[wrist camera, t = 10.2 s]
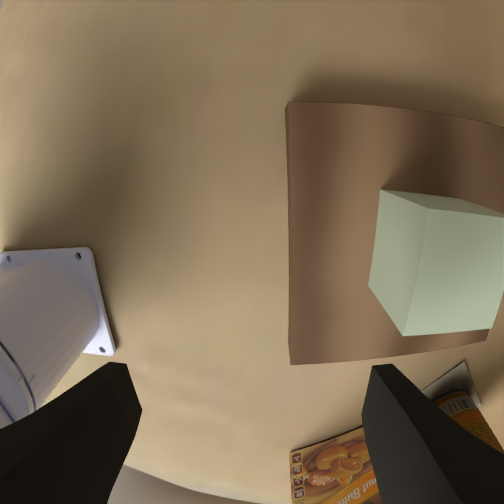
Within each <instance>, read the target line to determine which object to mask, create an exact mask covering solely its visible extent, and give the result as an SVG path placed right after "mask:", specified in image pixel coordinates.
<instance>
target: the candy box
mask: <svg viewBox="0 0 504 504" xmlns="http://www.w3.org/2000/svg"><path fill="white" fill-rule="evenodd" d="M289 461H290V477H291V496H292V504H382V501H381V497H380V493H379V489H378V486H377V482H376V478H375V475H374V471H373V467H372V464H371V460H370V456H369V453H368V449H367V445H366V441H365V435H364V428H363V427H362V428H359V429H357V430H354V431H352V432H349V433H346V434H344V435H341V436H339V437H336V438H333V439H330V440H328V441H325V442H322V443H319V444H316V445H313V446H310V447H307V448H303V449H298V450H295V451H291V452H290V454H289Z"/></svg>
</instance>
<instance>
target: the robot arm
mask: <svg viewBox="0 0 504 504" xmlns="http://www.w3.org/2000/svg"><path fill="white" fill-rule="evenodd" d="M78 253H79V254H80V255H81V258H79V256H78ZM10 258H11V259H10ZM102 347H103V348H104V349H105V350H104V349H103V348H102ZM115 352H116V347H115V343H114V340H113V336H112V333H111V329H110V326H109V322H108V318H107V314H106V311H105V307H104V303H103V298H102V294H101V290H100V286H99V281H98V276H97V272H96V267H95V262H94V257H93V253H92V251H91V249H89V248H88V247H75V248H57V249H39V250H22V251H5V252H1V253H0V504H107V502H108V499H109V496H110V493H111V491H112V488H113V486H114V483H115V481H116V479H117V477H118V474H119V472H120V470H121V467H122V465H123V463H124V461H125V458H126V456H127V454H128V452H129V449H130V447H131V445H132V442H133V440H134V438H135V435H136V431H137V428H138V425H139V421H140V417H141V413H142V408H141V405H140V403H139V400H138V397H137V394H136V391H135V389H134V386H133V383H132V380H131V377H130V374H129V371H128V368H127V364H124V363H116V362H108V363H107V364H105V365H103V366H102V367H100V368H99V369H97V370H96V371H94V372H93V373H91V374H90V375H89V376H87V377H86V378H84V379H83V380H81V381H80V382H79V383H77V384H76V385H74V386H73V387H71V388H70V389H69V390H67V391H66V392H64V393H63V394H61V395H60V396H58V397H57V398H55V399H54V400H52V401H50V402H49V403H47V404H46V405H44V406H42V404H43V403H44V402H45V400H46V399H47V397H48V396H49V395H50V393H51V392H52V391H53V389H54V388H55V387H56V385H57V384H58V383H59V382H60V380H61V379H62V378H63V376H64V375H65V374H66V372H67V371H68V370H69V369H70V367H71V366H72V365H73V363H74V362H75V361H76V360H77V358H78V357H79V356H80V355H81V353H89V354H98V355H107V356H113V355H114V354H115ZM41 406H42V407H41ZM40 407H41V408H40ZM362 421H363V428H364V435H365V441H366V445H367V449H368V453H369V456H370V460H371V464H372V467H373V471H374V475H375V478H376V482H377V486H378V489H379V493H380V497H381V501H382V504H504V454H503V453H501V452H500V451H498V450H496V449H494V448H493V447H491V446H490V445H488V444H486V443H485V442H483V441H482V440H480V439H479V438H477V437H476V436H474V435H473V434H471V433H470V432H469V431H467V430H466V429H465V428H463V427H462V426H461V425H459V424H458V423H457V422H456V421H454V420H453V419H452V418H451V417H449V416H448V415H447V414H446V413H445V412H443V411H442V410H441V409H440V408H439V407H438V406H437V405H435V404H434V403H433V402H432V401H431V400H430V399H429V398H428V397H427V396H426V395H424V394H423V393H422V392H421V391H420V390H419V389H418V388H417V387H416V386H415V385H414V384H413V383H412V382H411V381H410V380H409V379H408V378H407V377H406V376H405V375H404V374H403V373H401V372H400V371H399V370H398V369H397V368H396V367H395V366H394V365H393V364H383V365H374V366H372V369H371V374H370V379H369V384H368V388H367V393H366V397H365V401H364V405H363V410H362Z"/></svg>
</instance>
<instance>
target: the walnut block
mask: <svg viewBox="0 0 504 504" xmlns="http://www.w3.org/2000/svg"><path fill="white" fill-rule="evenodd" d="M285 119H286V145H287V177H288V227H289V327H288V345H289V354H290V364H291V365H302V364H319V363H334V362H346V361H357V360H367V359H376V358H385V357H393V356H400V355H408V354H415V353H421V352H428V351H434V350H440V349H445V348H451V347H456V346H461V345H466V344H471V343H476V342H481V341H485V340H486V338H487V335H488V332H489V329H490V328H489V329H480V330H472V331H462V332H452V333H441V334H428V335H414V336H402V334H401V333H400V331H399V330H398V328H397V327H396V325H395V324H394V322H393V321H392V319H391V318H390V316H389V315H388V313H387V312H386V310H385V309H384V308H383V306H382V305H381V303H380V302H379V300H378V299H377V297H376V296H375V294H374V293H373V292H372V290H371V289H370V287H369V286H368V283H369V277H370V270H371V264H372V257H373V250H374V242H375V234H376V226H377V217H378V207H379V196H380V190H391V191H400V192H410V193H419V194H427V195H435V196H443V197H450V198H458V199H462V200H465V201H468V202H471V203H474V204H477V205H480V206H483V207H486V208H488V209H491V210H494V211H497V212H499V213H502V214H504V127H501V126H497V125H493V124H489V123H484V122H480V121H475V120H471V119H466V118H461V117H455V116H450V115H444V114H438V113H432V112H425V111H418V110H411V109H403V108H394V107H385V106H374V105H361V104H346V103H322V102H288V104H287V106H286V108H285Z"/></svg>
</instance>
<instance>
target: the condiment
mask: <svg viewBox="0 0 504 504" xmlns="http://www.w3.org/2000/svg"><path fill="white" fill-rule="evenodd" d="M459 386H460V387H459ZM458 387H459V388H458ZM421 392H422V393H423V394H424V395H426V396H427V397H428V398H429V399H430V400H431V401H432V402H433V403H434V404H435V405H437V406H438V407H439V408H440V409H441V410H442V411H443V412H445V413H446V414H447V415H448V416H449V417H451V418H452V419H453V420H454V421H456V422H457V423H458V424H459V425H461V426H462V427H463V428H465V429H466V430H467V431H469V432H470V433H471V434H473V435H474V436H476V437H477V438H479V439H480V440H482V441H483V442H485V443H486V444H488V445H490V446H491V447H493V448H494V449H496V450H498V451H500V452H501V453H503V454H504V450H503V448H502V446H501V445H500V443H499V442H498V440H497V438H496V436H495V435H494V434H493V432H492V430H491V428H490V427H489V425H488V424H487V422H486V420H485V419H484V417H483V416H482V414H481V412H480V411H479V409H478V408H479V407H480V406H481V403H480V400H479V398H478V395H477V393H476V390H475V387H474V385H473V382H472V379H471V377H470V375H469V372H468V370H467V367H466V365H465V362H463V363H461V364H460V365H458V366H457V367H455V368H453V369H452V370H451V371H449V372H448V373H447V374H445V375H444V376H443V377H441V378H440V379H438V380H436V381H435V382H434V383H432V384H431V385H430V386H428V387H427V388H425V389H424V390H421Z"/></svg>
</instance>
